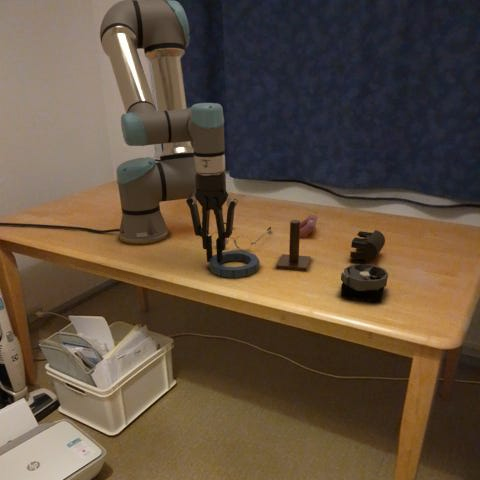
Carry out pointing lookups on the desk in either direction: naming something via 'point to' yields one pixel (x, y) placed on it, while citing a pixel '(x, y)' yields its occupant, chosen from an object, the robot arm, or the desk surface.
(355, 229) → the desk surface
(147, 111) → the robot arm
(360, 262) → the end cap
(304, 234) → the video game controller
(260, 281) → the desk surface
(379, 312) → the desk surface
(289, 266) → the stand
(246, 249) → the eyeglasses
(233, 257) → the dark blue segmented ring
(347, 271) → the cpu cooler
